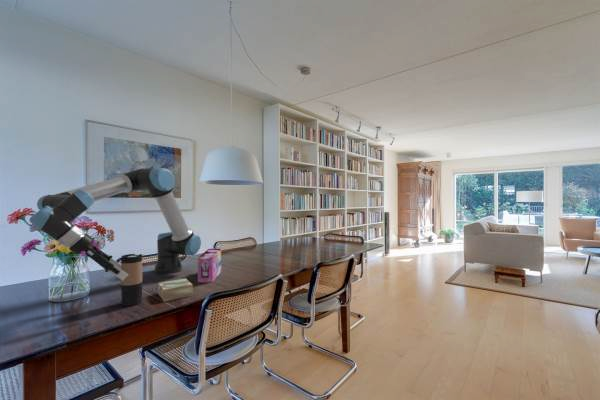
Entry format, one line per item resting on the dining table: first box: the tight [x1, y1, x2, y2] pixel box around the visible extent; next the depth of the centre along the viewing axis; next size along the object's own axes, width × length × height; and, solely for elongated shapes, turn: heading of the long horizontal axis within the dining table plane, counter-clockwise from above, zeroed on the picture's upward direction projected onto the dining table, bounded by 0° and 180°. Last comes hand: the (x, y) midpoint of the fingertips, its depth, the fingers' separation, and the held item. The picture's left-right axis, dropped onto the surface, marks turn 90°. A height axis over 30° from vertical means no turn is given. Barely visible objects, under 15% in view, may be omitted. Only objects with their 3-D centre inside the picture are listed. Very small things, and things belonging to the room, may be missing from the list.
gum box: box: [197, 248, 222, 283], centre depth 156 cm, size 24×8×14 cm, turn 4°
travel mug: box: [120, 253, 143, 307], centre depth 117 cm, size 8×8×20 cm
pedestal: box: [157, 278, 194, 302], centre depth 127 cm, size 12×12×5 cm
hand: (123, 273), depth 115 cm, fingers open, 13 cm apart
